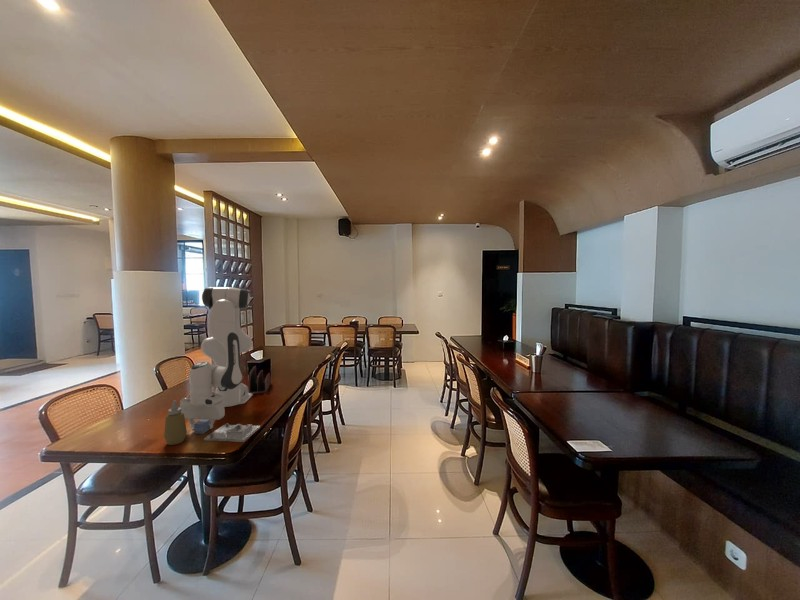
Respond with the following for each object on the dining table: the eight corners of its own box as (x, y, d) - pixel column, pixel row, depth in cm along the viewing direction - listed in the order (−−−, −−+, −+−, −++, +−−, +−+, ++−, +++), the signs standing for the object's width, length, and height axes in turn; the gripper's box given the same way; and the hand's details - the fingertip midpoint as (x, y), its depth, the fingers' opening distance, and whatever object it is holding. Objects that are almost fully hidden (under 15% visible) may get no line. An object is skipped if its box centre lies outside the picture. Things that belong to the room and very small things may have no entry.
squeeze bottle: (171, 438, 145) (170, 397, 144) (191, 437, 145) (189, 397, 145) (159, 447, 137) (158, 404, 136) (180, 446, 137) (178, 403, 137)
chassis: (224, 426, 156) (223, 420, 156) (260, 427, 155) (260, 422, 155) (204, 440, 143) (203, 434, 142) (243, 441, 141) (243, 435, 141)
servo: (204, 427, 156) (203, 418, 156) (212, 427, 155) (211, 418, 155) (192, 434, 148) (192, 424, 148) (200, 435, 148) (200, 425, 148)
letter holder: (248, 394, 204) (248, 371, 203) (255, 385, 223) (254, 364, 222) (266, 393, 206) (265, 370, 205) (270, 384, 225) (270, 363, 225)
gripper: (174, 399, 149) (175, 429, 149) (217, 401, 147) (218, 431, 148) (185, 395, 155) (186, 424, 156) (226, 396, 153) (227, 425, 154)
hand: (202, 427), depth 152 cm, fingers open, 7 cm apart
